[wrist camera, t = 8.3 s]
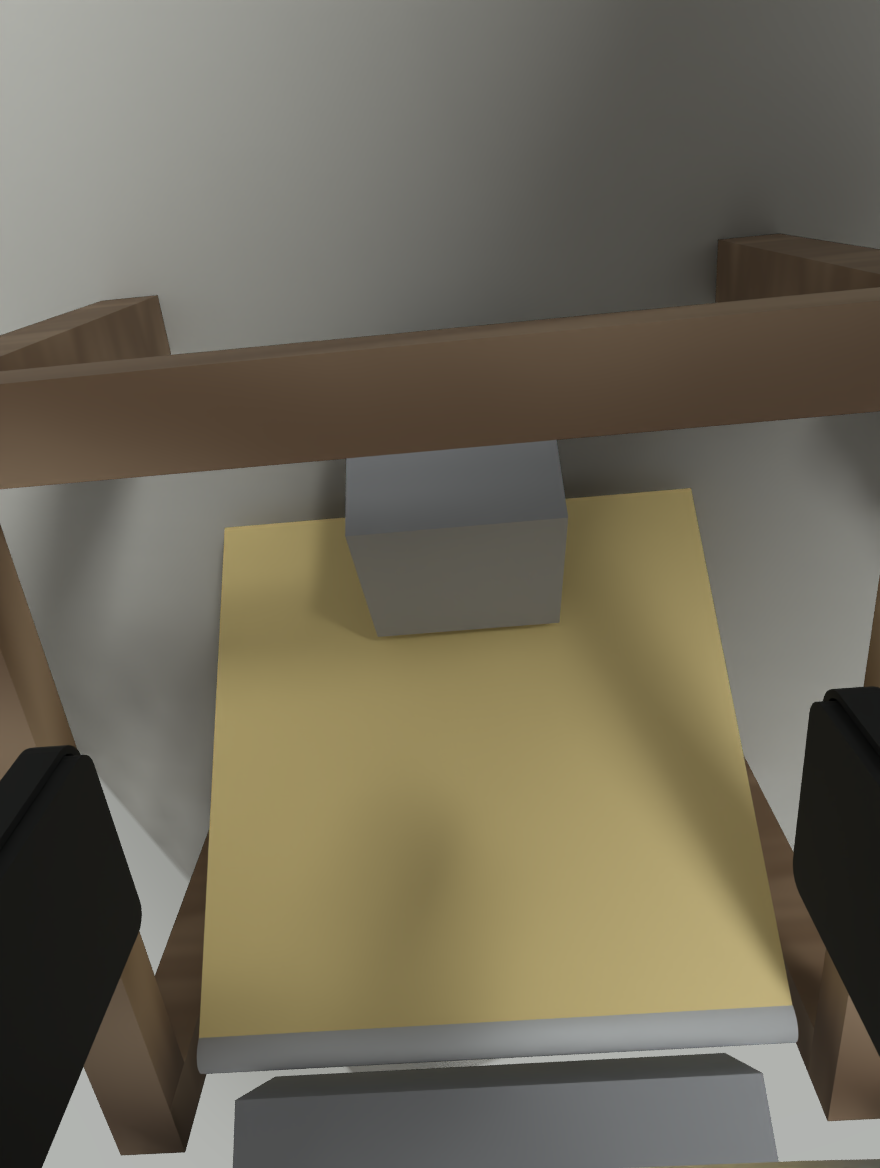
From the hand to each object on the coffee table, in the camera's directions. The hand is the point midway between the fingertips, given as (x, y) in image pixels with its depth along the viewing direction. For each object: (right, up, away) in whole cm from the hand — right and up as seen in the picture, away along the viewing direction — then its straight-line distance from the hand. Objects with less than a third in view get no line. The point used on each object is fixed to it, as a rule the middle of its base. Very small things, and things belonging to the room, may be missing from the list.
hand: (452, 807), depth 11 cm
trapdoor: (+1, -6, +13) cm, 14 cm away
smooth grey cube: (0, +4, +13) cm, 14 cm away
